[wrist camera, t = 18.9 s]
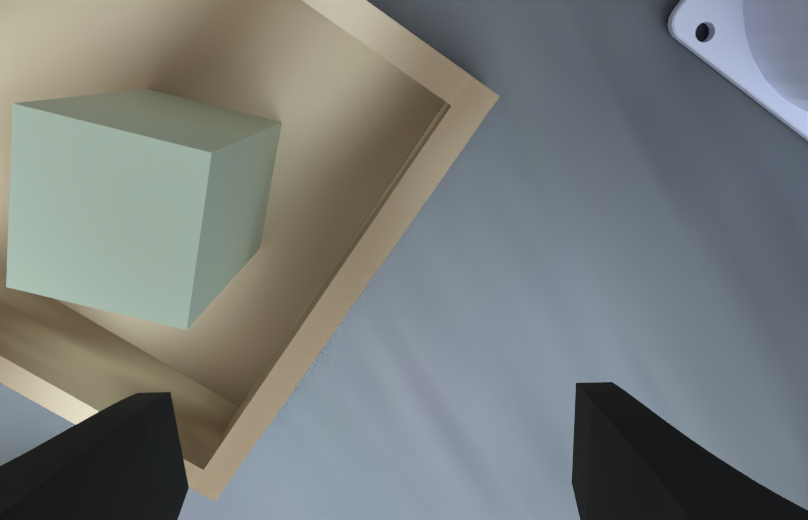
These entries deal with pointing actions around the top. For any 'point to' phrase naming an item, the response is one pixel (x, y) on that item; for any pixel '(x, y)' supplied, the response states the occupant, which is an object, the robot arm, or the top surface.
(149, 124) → the sage block
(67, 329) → the storage box
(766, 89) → the robot arm
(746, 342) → the top surface
